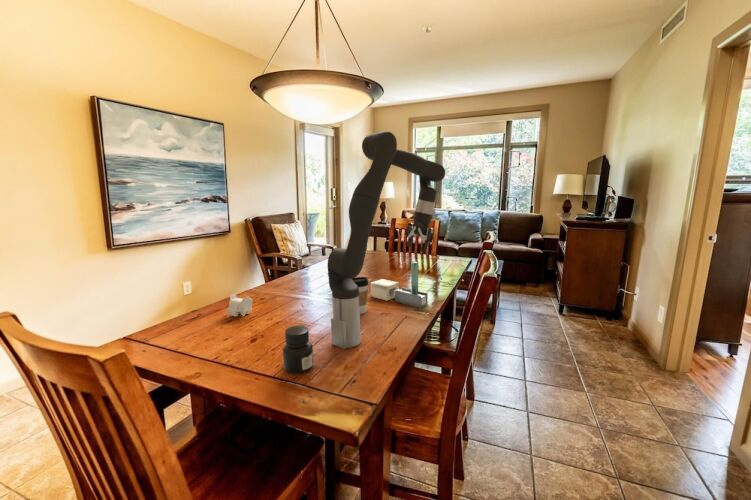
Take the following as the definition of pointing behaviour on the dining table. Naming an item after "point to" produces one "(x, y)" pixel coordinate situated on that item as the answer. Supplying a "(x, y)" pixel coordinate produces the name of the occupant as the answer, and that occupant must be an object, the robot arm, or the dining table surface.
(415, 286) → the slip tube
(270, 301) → the dining table surface
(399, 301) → the sleeve
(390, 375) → the dining table surface
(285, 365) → the ink bottle
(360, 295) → the coffee cup
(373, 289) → the socket
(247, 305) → the elephant figurine
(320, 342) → the dining table surface
